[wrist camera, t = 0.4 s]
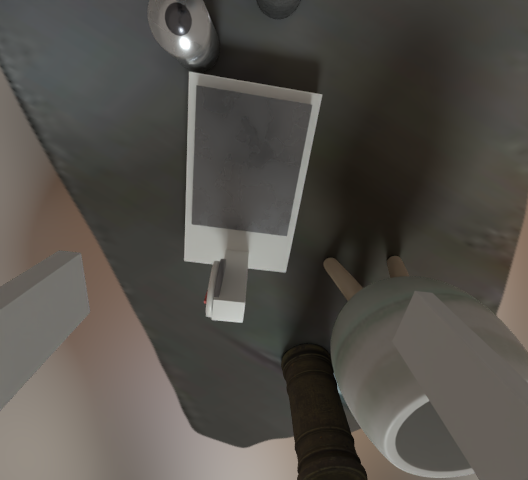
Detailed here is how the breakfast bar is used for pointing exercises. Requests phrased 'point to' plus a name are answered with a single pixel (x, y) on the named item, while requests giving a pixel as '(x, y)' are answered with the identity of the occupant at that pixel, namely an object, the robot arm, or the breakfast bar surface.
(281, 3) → the spacer
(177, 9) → the spacer
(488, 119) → the breakfast bar surface
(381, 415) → the planter
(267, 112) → the pan
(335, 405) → the container
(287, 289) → the breakfast bar surface
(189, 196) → the scale
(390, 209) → the breakfast bar surface
